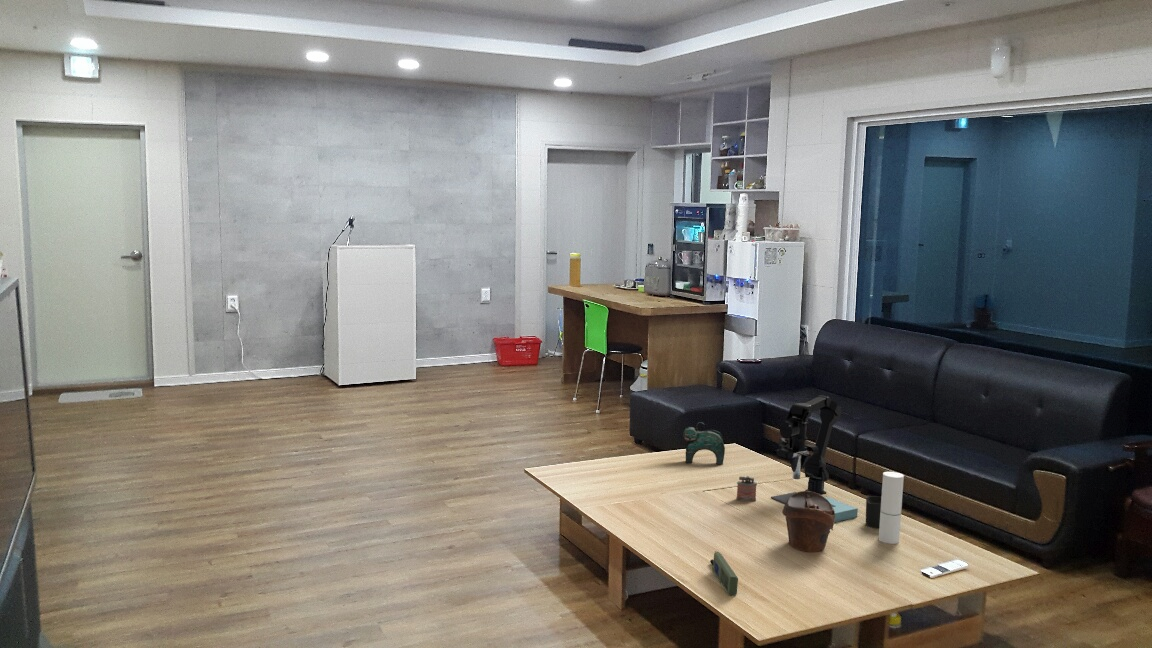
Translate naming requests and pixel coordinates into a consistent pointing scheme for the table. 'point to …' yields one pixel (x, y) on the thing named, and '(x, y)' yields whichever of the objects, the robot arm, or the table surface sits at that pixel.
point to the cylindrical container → (891, 507)
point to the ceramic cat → (703, 443)
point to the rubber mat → (783, 497)
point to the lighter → (746, 489)
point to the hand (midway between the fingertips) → (796, 471)
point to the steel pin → (797, 468)
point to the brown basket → (808, 520)
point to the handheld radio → (725, 574)
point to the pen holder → (873, 511)
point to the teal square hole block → (842, 510)
